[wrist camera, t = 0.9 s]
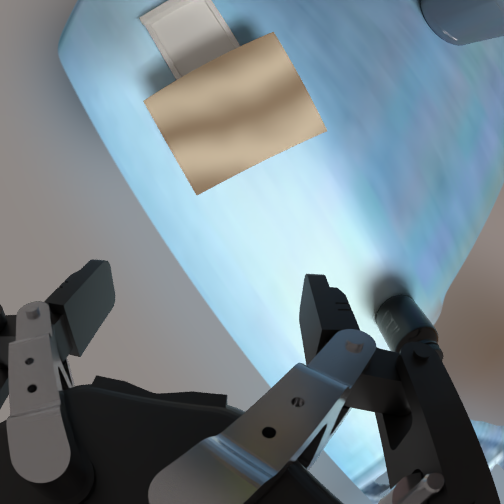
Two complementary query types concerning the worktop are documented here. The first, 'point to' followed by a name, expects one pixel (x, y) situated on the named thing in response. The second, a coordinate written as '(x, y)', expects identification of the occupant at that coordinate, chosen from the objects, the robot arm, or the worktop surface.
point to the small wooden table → (235, 112)
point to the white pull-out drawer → (189, 34)
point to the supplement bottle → (405, 324)
